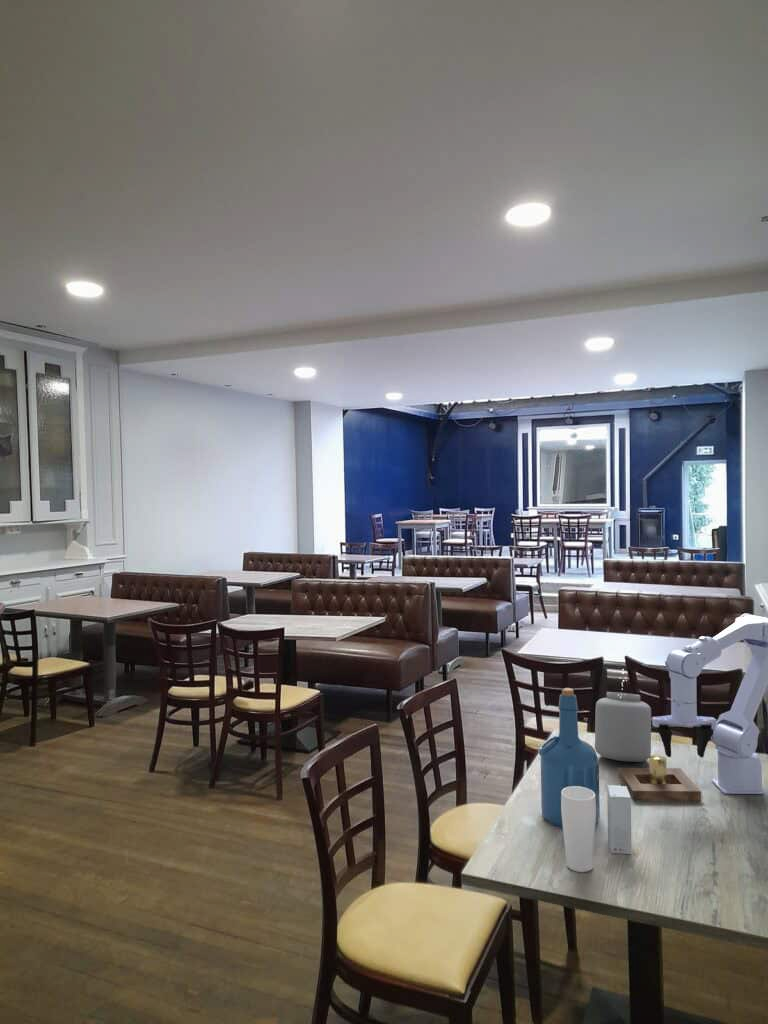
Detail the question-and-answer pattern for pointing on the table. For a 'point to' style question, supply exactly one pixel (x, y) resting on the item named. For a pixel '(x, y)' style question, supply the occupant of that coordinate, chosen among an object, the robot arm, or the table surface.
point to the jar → (623, 727)
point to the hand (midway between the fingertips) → (684, 755)
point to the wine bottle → (566, 762)
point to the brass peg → (657, 769)
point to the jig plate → (659, 786)
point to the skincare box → (619, 819)
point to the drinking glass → (578, 826)
